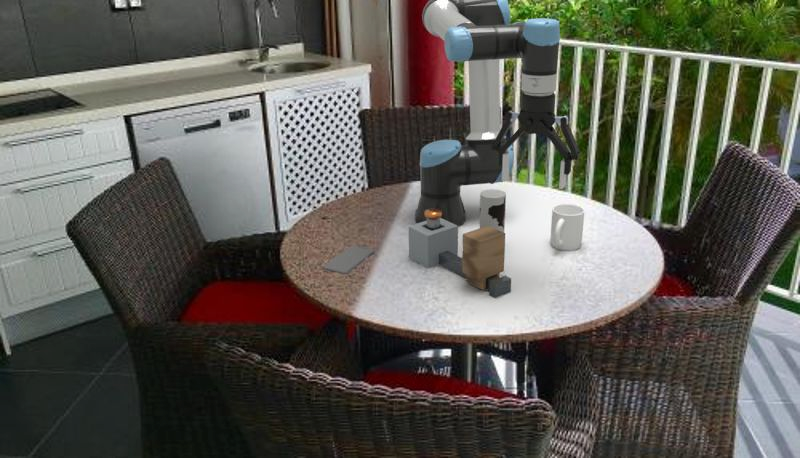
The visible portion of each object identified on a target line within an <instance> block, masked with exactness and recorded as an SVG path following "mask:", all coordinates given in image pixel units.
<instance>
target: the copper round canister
mask: <svg viewBox="0 0 800 458" xmlns="http://www.w3.org/2000/svg"><path fill="white" fill-rule="evenodd" d="M441 216H442V211H441V210H439V209H427V210H425V217H427V229H429V230H431V231H433V230H436V229H439V228H440V217H441Z"/></svg>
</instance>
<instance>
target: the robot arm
mask: <svg viewBox="0 0 800 458" xmlns="http://www.w3.org/2000/svg"><path fill="white" fill-rule="evenodd" d="M510 10H511V8H510V4H509V1H508V0H428V1H427V3H426V4H425V6H424V7H423V10H422V14H421V17H422V18H421V19H422V24H423V27H424V28H425V30H426V31H428V32H429V34H431V35H432V36H434V37H437V38H440V39H442V40H443V42H444V44H443V45H444V53H445V56H446V59H447V60H448V61H450V62H460V63H465V62H468V63H467V64H468V87H469V88H468V89H469V90H468V91H469V95H468V96H469V116H470V117H469V118H470V119H469V120H470V131H469V132H470V133H469V134H468V135H467V136H466V137H465V144H463V145H462V144H461V142H460V141H459V140H458V139H457V140H456V139H439V140H435V141H431V142H430V143H429V142H428V143H427V144H426V145H424V146H423V147H422V148H421V150H420V155H419V168H420V169H419V170H420V171H419V173H420V176H419V178H420V196H419V200H418V203H417V208H416V209H415V212H414V221H415V224H417V223H421V222H424V221H427V217H425V210H427V209H439V210H441V211H442V216H441V217H440V218H442V219H444V220H446V221H448V222H451V223H453V224H455V225H457V226H458V227H460V226H462V225H463V224H465V222H466V221H467V211H466V209H465V205H464V202H463V199H462V196H461V187H462V186H474V185H484V184H485V185H486V184H491V185H493V184H498V183H504V182H506V181H507V180H508V179H509V178H510V175H512V172H513V168H514V160H515V158H514V157H515V156H514V155H515V154H514V153H515V152H514V150H513V149H514V147H513V144H514V143H515V142H516V141H517V140H518V139H519V138H520V137H521V136H522V135H523V133H525V132H526V133H527V134H528V135H534V134H535V135H538V136H542V135H545V137H546V138H548V139H549V141H550V142H551V144H552V145H553V146H554V148H556V151H558V153H559V154H560V156H561V158H562V160H561V161H560V167H559V168H560V169H559V171H560V172H559V183H558V185H559V186H558V189H559V190H563V189H564V188H565V186H566V182H567V175H569V174H571V172H572V162H573V161H574V160H575V161H577V160H578V159H579V158H580V157H581V155H582V154H581V151H580V149H579V146H578V144H577V141H576V138H575V136H574V133H573V132H572V129H571V126H570V120H569V119H570V117H569V115H567V114H564V116H556V113H555V112H556V111H555V108H556V93H554V92H555V91H557V80H558V78H557V77H558V64H559V63H558V61H559V51H560V50H559V49H560V41H561V33H560V32H561V31H560V30H561V29H560V22H559V20H558V19H555V18H547V17H545V18H544V17H542V18H541V17H539V18H529V19H527V20H526V21H517V22H514V23H510V22H511V21H512V20H511V18H512V17H511V11H510ZM509 59H511V60H512V59H522V65H521V66H522V68H521V91H522V93H521V94H520V106H519V108H520V110H519V111H520V112H515V111H514V110H513V109H511V110H509V111H508V112H507V113H506V114H505V119H504V120H505V121H504V123H503V124H502V126H501V100H500V99H501V95H500V65H499V64H500V63H499V61H500V60H509ZM516 120H518V122H519V123H520V125H521V126H520V127H519V128H518V129H517V130H516V131H515V132H514V133H513V135H511V136H510V137H509V138H508V140H507V136H506V135H507V133H508V132H509V130H510V128H511V127H512V124H513V123H515V121H516ZM555 123H556V124H557V126H558V127H560V129H561V132H562V135H563V137H564V140H565V142H563V140H562V139H561V137H560V136H559V134H558V133H557V131H556V129H555V128H554V124H555ZM565 143H566V144H565ZM566 145H567V146H566Z"/></svg>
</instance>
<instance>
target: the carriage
mask: <svg viewBox="0 0 800 458" xmlns="http://www.w3.org/2000/svg"><path fill="white" fill-rule="evenodd" d="M505 247H506V232H505V231H504V232H501V231H499V230H497V229H495V228H492V227H490V226H485V227H482V228H480V227H478V228H476V229H474V230H471V231H468V232H464V233H462V251H461V252H462V257H461V258H462V272H463V273H465V274H467V279H465V280H466V281H465V282H467V283H469V284H471V285H473V286H475V287H477V288H479V289H480V290H482V291H486V290H485V289H486V278H488V277H491V276H493V275H496V276H498V277H501V276H500V274H502V273H503V272H505V257H506V256H505V253H506V249H505Z"/></svg>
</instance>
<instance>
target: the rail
mask: <svg viewBox="0 0 800 458" xmlns="http://www.w3.org/2000/svg"><path fill="white" fill-rule="evenodd" d="M438 265H439V266H440V267H443V268H445V269H446V270H448V271H450V272H452V273H453V274H456V275H457V276H460V277H461V278H463V279H465V280H467V274H465V273H463V272H462V257H461V256H459V255H458V256H457V255H455V254H453V253H451V252H449V251H445V252H443V253H440V254H439V264H438ZM484 291H487V292H488V293H489V296H491V297H493V298H495V299H496V298H499V297H501V296H503V295H505V294H508V293H511V292H512V278H511V277H509V276H507V275H506V274H505V275H503V276H500V277H498V276H496V275H493V276H491V277H488V278H486V289H485V290H484Z"/></svg>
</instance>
